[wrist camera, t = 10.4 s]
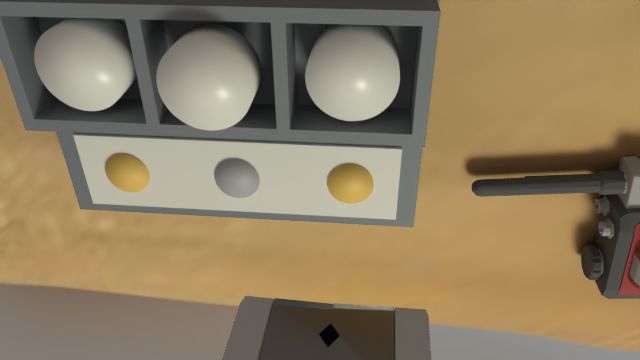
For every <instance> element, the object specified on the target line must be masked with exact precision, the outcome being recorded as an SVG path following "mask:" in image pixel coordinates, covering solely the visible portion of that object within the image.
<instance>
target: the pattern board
mask: <svg viewBox="0 0 640 360" xmlns="http://www.w3.org/2000/svg"><path fill="white" fill-rule="evenodd" d="M66 18H103V19H115V20H116V21H118V22H119V23H120V24H121V25H123V26H124V27H125V28H126V29H127V30H128V35H129V40H130V45H131V50H132V55H133V59H134V64H135V69H136V74H137V79H136V81H135V82H134V83H133V84H132V85H131V87H130V88H129V89H128V90H127V91H126V92H125V93H124V94H123V95H122V96H121V97H120V98H119V99H118V100H117V101H116V102H115V103H114V104H113V105H112V106H110V107H108V108H106V109H103V110H99V111H84V110H79V109H76V108H73V107H71V106H69V105H67V104H65V103H63V102H62V101H60V100H59V99H58V98H56V97H55V96H54V95H53V94H52V93H51V92H50V91H49V90H48V89H47V88H46V86H45V85H44V84H43V82H42V81H41V79H40V77H39V75H38V72H37V70H36V66H35V61H34V51H35V46H36V43H37V41H38V40H39V38H40V37H41V35H42V34H43V33H45V32H46V31H47V30H49V29H50V28H52V27H53V26H55V25H57V24H58V23H60V22H61V21H63V20H64V19H66ZM439 18H440V8H439V0H0V57H1V60H2V63H3V66H4V69H5V72H6V75H7V77H8V80H9V83H10V86H11V89H12V92H13V95H14V98H15V101H16V103H17V106H18V109H19V112H20V115H21V118H22V121H23V124H24V127H25V130H33V131H56V132H57V135H58V138H59V142H60V145H61V148H62V151H63V154H64V158H65V161H66V164H67V167H68V171H69V174H70V177H71V180H72V183H73V187H74V190H75V193H76V196H77V199H78V203H79V206H80V209H89V210H107V211H125V212H144V213H162V214H180V215H199V216H217V217H236V218H254V219H272V220H291V221H309V222H327V223H346V224H364V225H383V226H401V227H413V226H414V217H415V208H416V199H417V191H418V182H419V173H420V164H421V155H422V147H425V139H426V130H427V122H428V113H429V104H430V96H431V87H432V79H433V70H434V61H435V53H436V44H437V35H438V27H439ZM203 24H218V25H223V26H226V27H229V28H231V29H233V30H235V31H237V32H238V33H240V34H241V35H242V36H243V37H245V38H246V39H247V40H248V41H249V42H250V44H251V45H252V46H253V48H254V49H255V51H256V53H257V55H258V57H259V60H260V64H261V82H260V85H259V88H258V90H257V92H256V94H255V97H254V99H253V101H252V103H251V105H250V107H249V110H248V112H247V113H246V115H245V116H244V117H243V118H242V119H241V120H240V121H239V122H238V123H236V124H235V125H233V126H231V127H229V128H226V129H222V130H202V129H198V128H195V127H192V126H190V125H188V124H186V123H184V122H182V121H181V120H179V119H178V118H177V117H175V116H174V115H173V114H172V113H171V112H170V111H169V109H168V108H167V107H166V105H165V104H164V102H163V101H162V99H161V97H160V94H159V92H158V88H157V81H156V74H157V68H158V65H159V62H160V61H161V59H162V57H163V56H164V54H165V53H166V52H167V51H168V50H169V49H170V48H171V47H172V45H173V44H174V43H175V42H176V41H177V40H178V39H179V38H180V37H181V36H182V35H183V34H184V33H185V32H186V31H188V30H189V29H191V28H193V27H195V26H198V25H203ZM330 24H350V25H381V26H382V27H383V28H385V29H386V30H387V31H388V32H389V34H390V35H391V36H392V38H393V40H394V41H395V44H396V46H397V49H398V55H399V67H400V83H399V88H398V92H397V94H396V96H395V98H394V99H393V101H392V102H391V104H390V105H389V106H388V107H387V108H386V109H385V110H384V111H382V112H381V113H380V114H378V115H376V116H374V117H372V118H369V119H366V120H361V121H344V120H340V119H337V118H334V117H332V116H330V115H328V114H326V113H325V112H323V111H322V110H321V109H320V108H319V107H318V106H317V105H316V104H315V103H314V102H313V100H312V99H311V97H310V95H309V93H308V90H307V87H306V81H305V71H306V66H307V63H308V59H309V56H310V53H311V50H312V47H313V44H314V42H315V40H316V38H317V36H318V35H319V34H320V33H321V31H322V30H323V29H325V28H326V27H327V26H328V25H330Z"/></svg>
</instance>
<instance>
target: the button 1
mask: <svg viewBox="0 0 640 360" xmlns="http://www.w3.org/2000/svg"><path fill="white" fill-rule="evenodd" d="M34 61H35V66H36V70H37V72H38V75H39V77H40V79H41V81H42V82H43V84H44V85H45V86H46V88H47V89H48V90H49V91H50V92H51V93H52V94H53V95H54V96H55V97H56V98H58V99H59V100H60V101H62V102H63V103H65V104H67V105H69V106H71V107H73V108H76V109H79V110H84V111H99V110H103V109H106V108H108V107H110V106H112V105H113V104H114V103H115V102H116V101H117V100H118V99H119V98H120V97H121V96H122V95H123V94H124V93H125V92H126V91H127V90H128V89H129V88H130V87H131V85H132V84H133V83H134V82H135V81H136V79H137V74H136V69H135V64H134V59H133V55H132V50H131V45H130V40H129V35H128V30H127V29H126V28H125V27H124V26H123V25H121V24H120V23H119V22H118V21H116V20H115V19H103V18H66V19H64V20H63V21H61V22H60V23H58V24H57V25H55V26H53V27H52V28H50V29H49V30H47V31H46V32H45V33H43V34H42V35H41V37H40V38H39V40H38V41H37V43H36V46H35V51H34Z"/></svg>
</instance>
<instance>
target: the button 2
mask: <svg viewBox="0 0 640 360" xmlns="http://www.w3.org/2000/svg"><path fill="white" fill-rule="evenodd" d="M305 81H306V87H307V90H308V93H309V95H310V97H311V99H312V100H313V102H314V103H315V104H316V105H317V106H318V107H319V108H320V109H321V110H322V111H323V112H325V113H326V114H328V115H330V116H332V117H334V118H337V119H340V120H344V121H361V120H366V119H369V118H372V117H374V116H376V115H378V114H380V113H381V112H382V111H384V110H385V109H386V108H387V107H388V106H389V105H390V104H391V102H392V101H393V99H394V98H395V96H396V94H397V92H398V88H399V83H400V67H399V55H398V49H397V46H396V44H395V41H394V40H393V38H392V36H391V35H390V34H389V32H388V31H387V30H386V29H385V28H383V27H382V26H381V25H350V24H330V25H328V26H327V27H326V28H325V29H323V30H322V31H321V33H320V34H319V35H318V36H317V38H316V40H315V42H314V44H313V47H312V50H311V53H310V56H309V59H308V63H307V66H306V71H305Z"/></svg>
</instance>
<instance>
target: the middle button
mask: <svg viewBox="0 0 640 360" xmlns="http://www.w3.org/2000/svg"><path fill="white" fill-rule="evenodd" d="M156 81H157V88H158V92H159V94H160V97H161V99H162V101H163V102H164V104H165V105H166V107H167V108H168V109H169V111H170V112H171V113H172V114H173V115H174V116H175V117H177V118H178V119H179V120H181V121H182V122H184V123H186V124H188V125H190V126H192V127H195V128H198V129H202V130H222V129H226V128H229V127H231V126H233V125H235V124H236V123H238V122H239V121H240V120H241V119H242V118H243V117H244V116H245V115H246V113H247V112H248V110H249V107H250V105H251V103H252V101H253V99H254V97H255V94H256V92H257V90H258V88H259V85H260V82H261V64H260V60H259V57H258V55H257V53H256V51H255V49H254V48H253V46H252V45H251V44H250V42H249V41H248V40H247V39H246V38H245V37H243V36H242V35H241V34H240V33H238V32H237V31H235V30H233V29H231V28H229V27H226V26H223V25H218V24H203V25H198V26H195V27H193V28H191V29H189V30H188V31H186V32H185V33H184V34H183V35H182V36H181V37H180V38H179V39H178V40H177V41H176V42H175V43H174V44H173V45H172V47H171V48H170V49H169V50H168V51H167V52H166V53H165V54H164V56H163V57H162V59H161V61H160V62H159V65H158V68H157V74H156Z"/></svg>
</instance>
